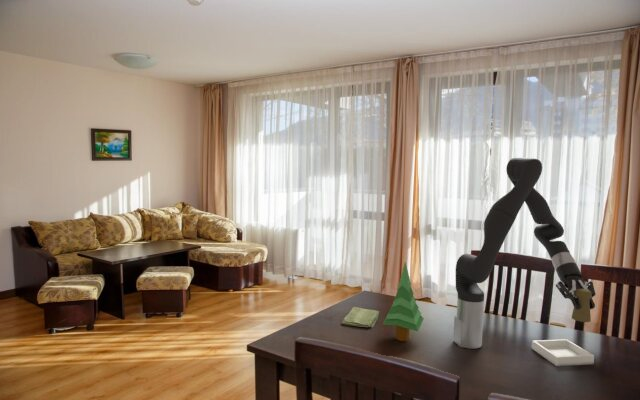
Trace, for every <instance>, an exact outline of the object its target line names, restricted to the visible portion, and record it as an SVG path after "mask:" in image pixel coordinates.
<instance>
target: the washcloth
mask: <svg viewBox="0 0 640 400" xmlns="http://www.w3.org/2000/svg"><path fill="white" fill-rule="evenodd" d="M379 315H380V311H378V310H374V309H370V308H369V309H366V308H363V307H356V306H353V307H352V309H351V310H350V311H349V313H348V314H347V315H346V316H345V317H344V318H343V319H342V321H341V325H344V326H351V327H360V328H361V327H363V328H368V327H369V328H368V329H374V327H375V325H376V322H377V320H378V318H379Z"/></svg>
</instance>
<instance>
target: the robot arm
mask: <svg viewBox="0 0 640 400" xmlns="http://www.w3.org/2000/svg"><path fill="white" fill-rule="evenodd" d="M505 169H506V170H505V171H506V175H507V177H508V179H509V181H510V182H511V183H512V185H513V188H512V189H511V190H510V191H508V192H507V193H506V194H505V195H503V196H501V198H499V199H498V200H496V201H495V202H494V203H493V205H492V206H491V207H490V210H489V212H488V213H487V215H486V217H485V219H484V222H483V234H484V235H483V238H484V239H483V240H484V241H483V244H482V247H481V249H480V251H479V253H478V255H474V254H470V253H464V254H461V255H460V256H459V257H458V258H457V261H456V263H455V290H456V292H457V301H456V302H457V304H456V315H455V316H454V321H453V340H452V341H453V342H454V343H455V344H457V346H458V347H460V348H466V349H469V350H470V349H473V350H474V349H475V350H476V349H479V348H481V347H482V346H483V345H482V344H483V329H484V328H483V326H484V325H483V324H484V322H483V321H484V310H485V309H484V308H485V307H484V305H485V292H484V291H483V290H482V289H481V288H480V286H479V284H481V283H484V282H486V281H487V279H488V278H489V276H490V275H491V273H492V271H493V267H494V266H495V262H496V260H497V258H498V255H499V252H500V250H501V248H502V247H503V243H504V241H505V239H506V238H507V235H508V233H509V231H511V228H512V227H513V225H514V223H515V220H516V219H517V216H518V214H519V212H520V210H521V208H522V207H523V205H524V203H525V204H526V206H527V208H528V211H529V212H530V215H531V217H532V220H533V221H534V223H535V224H537V225H536V227H534V229H533V234H534V237H535V238H536V240H537V241H538V242H540V244H541V245H542V246H543V247H544V248H545V250H546V252H547V253H548V255H549V257H550V260H551V262H552V266H553V268H554V271H555V273H556V274H557V276H558V279H559V280H560V281H558V282H557V283H556V284H555V287H556V288H557V289H558V291H559V292H560V294H561V295H562V297H563V298H564V299H567V300H568V299H569V300H570V301H571V303H572V306H573V308H574V307H575V308H576V309H580V308H581V305H580V302H579V300H578V298H576V294H575V291H576V290H577V289H587V290H589V291H591V293H592V297H591V299H589V300H590V310H593V309H595V308H596V304H595V302H594V300H593V298H594V297H595V296H596V292H595V287H594V283H593V282H592V281H591V280H589V282H588V281H586V280H585V279H583V277H582V272H581V271H580V268H579V266H578V265H577V262H576V260H575V258H574V257H573V255H572V254H571V253H570V250H569V248H568V246H567V244H566V243H565V241H563V240H556V239H560V238H561V237H563V235H564V233H565V230H564V227H563V225H562V224H561V223H560V222H559V220H557V219H556V217H554V215H553V213H552V211H551V209H550V207H549V203H548V202H547V200H546V199H545V197H544V196H543V195H541V193H540V192H539V191H538V190H536V188H534V187H535V185H536V184H537V182H538V181H539V180H540V178H541V175H542V172H543V164H542V161H541V160H539V159H538V158H534V157H521V156H518V157H513V158H510V159H509V160H508V162H507V164H506V168H505Z"/></svg>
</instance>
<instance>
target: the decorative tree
mask: <svg viewBox="0 0 640 400" xmlns="http://www.w3.org/2000/svg"><path fill="white" fill-rule="evenodd" d="M397 287H398V288H397V291H396V294H395V297H394V299H393V303H392V304H391V307H390V308H389V310H388V314H387V316H386V318H385V319H384V321H383V323H382V325H384V326H385V325H388V326H389V325H390V326H396V329H395V330H396V331H395V336H396V337H395V339H396V340H398V341H401V342H407V341H408V340H409V339H410V330H412V331H415V332H419V330H420V328H421V326H422V323H423V321H424V317H423V316H422V312H421V311H420V309H419V306H418V304H417V301H416V298H415V297H414V292H413V289H412V283H411V279H410V274H409V271H408V267H407V263H406V261H404V264H403V267H402V271H401V276H400V279H399V283H398V286H397Z"/></svg>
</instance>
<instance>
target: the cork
mask: <svg viewBox="0 0 640 400" xmlns="http://www.w3.org/2000/svg"><path fill="white" fill-rule="evenodd" d="M575 294H576V298H578V300H579V302H580V305H581V308H580V309H576V308H575V307H574V306H573V310H572V314H571V319H572V320H574V321H577V322H582V323H590V322H592V321H591V319H592V317H591V309H590V300H589V299H591V297H592V293H591V291H589V290H587V289H577V290H576V291H575ZM592 298H593V297H592Z"/></svg>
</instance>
